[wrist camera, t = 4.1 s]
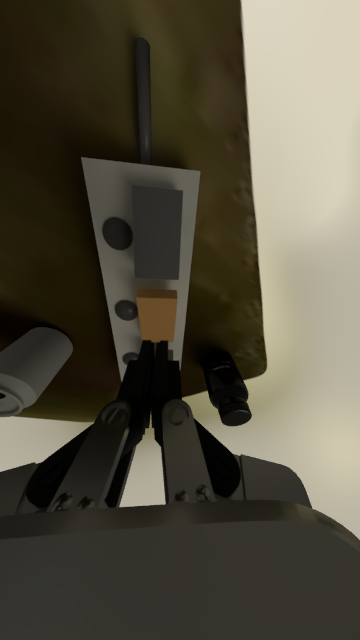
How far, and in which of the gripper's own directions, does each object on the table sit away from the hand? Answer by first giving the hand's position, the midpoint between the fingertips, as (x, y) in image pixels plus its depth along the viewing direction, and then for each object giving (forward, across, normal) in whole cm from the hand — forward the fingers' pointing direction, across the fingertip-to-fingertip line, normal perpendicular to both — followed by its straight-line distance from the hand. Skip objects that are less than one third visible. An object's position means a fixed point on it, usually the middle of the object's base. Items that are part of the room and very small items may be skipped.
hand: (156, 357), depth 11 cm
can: (+16, +20, +12) cm, 29 cm away
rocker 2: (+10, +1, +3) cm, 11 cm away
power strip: (+16, +2, +3) cm, 17 cm away
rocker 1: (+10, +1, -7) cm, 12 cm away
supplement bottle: (+17, -12, +17) cm, 27 cm away
